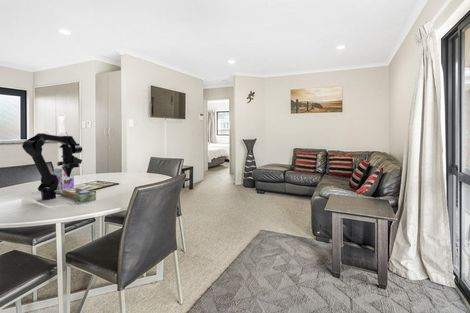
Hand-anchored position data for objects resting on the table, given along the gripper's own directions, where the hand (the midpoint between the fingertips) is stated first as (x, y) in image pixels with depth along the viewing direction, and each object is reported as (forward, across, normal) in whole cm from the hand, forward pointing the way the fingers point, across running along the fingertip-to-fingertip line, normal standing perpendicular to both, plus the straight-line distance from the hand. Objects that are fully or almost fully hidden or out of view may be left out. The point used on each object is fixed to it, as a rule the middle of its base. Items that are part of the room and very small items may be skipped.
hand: (68, 176), depth 173 cm
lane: (+12, -15, -2) cm, 20 cm away
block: (+11, -22, +1) cm, 25 cm away
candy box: (+12, +20, -5) cm, 24 cm away
